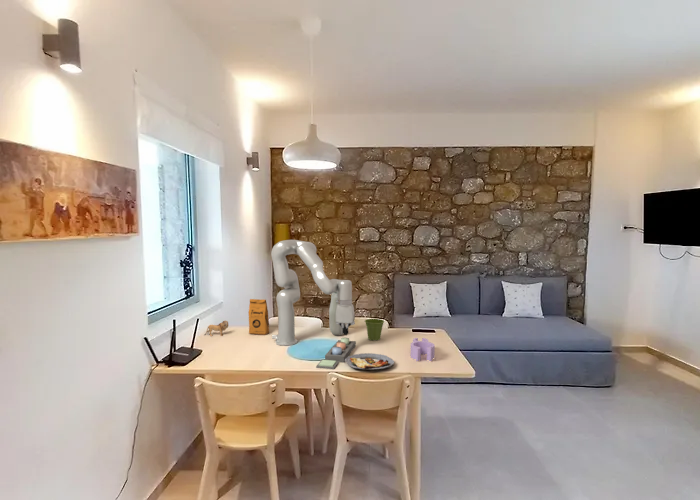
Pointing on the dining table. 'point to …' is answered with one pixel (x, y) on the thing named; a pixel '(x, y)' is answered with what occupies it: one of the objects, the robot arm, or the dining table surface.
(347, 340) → the sage button
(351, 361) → the food plate
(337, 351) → the slate button
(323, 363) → the card
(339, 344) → the peach rounded dome
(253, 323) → the coffee package
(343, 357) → the button panel
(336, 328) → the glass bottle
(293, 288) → the robot arm
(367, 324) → the plant pot
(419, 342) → the clip
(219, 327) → the lion figurine
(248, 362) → the dining table surface
